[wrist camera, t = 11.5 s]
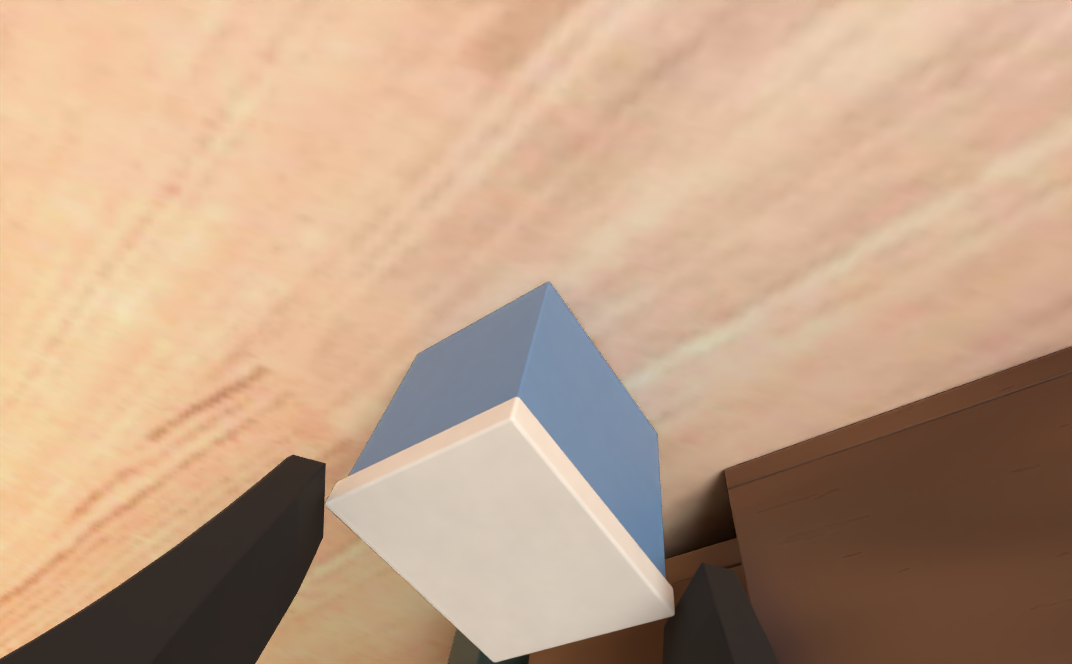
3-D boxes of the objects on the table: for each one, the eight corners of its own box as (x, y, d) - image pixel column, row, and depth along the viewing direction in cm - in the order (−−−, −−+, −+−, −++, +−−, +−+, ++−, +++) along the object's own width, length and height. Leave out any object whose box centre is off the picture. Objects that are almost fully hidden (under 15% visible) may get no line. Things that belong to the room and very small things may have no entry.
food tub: (528, 488, 16) (493, 665, 12) (411, 352, 15) (321, 504, 10) (663, 435, 15) (676, 617, 11) (550, 274, 13) (511, 417, 9)
